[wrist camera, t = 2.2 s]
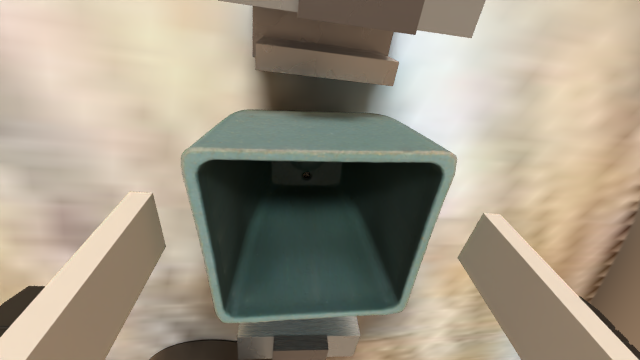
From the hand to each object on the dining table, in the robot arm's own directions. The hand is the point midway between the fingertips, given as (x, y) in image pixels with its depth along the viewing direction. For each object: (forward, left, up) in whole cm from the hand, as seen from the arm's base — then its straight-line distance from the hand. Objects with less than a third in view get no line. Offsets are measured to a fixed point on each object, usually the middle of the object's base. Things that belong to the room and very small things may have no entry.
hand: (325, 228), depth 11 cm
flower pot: (0, 0, -8) cm, 8 cm away
